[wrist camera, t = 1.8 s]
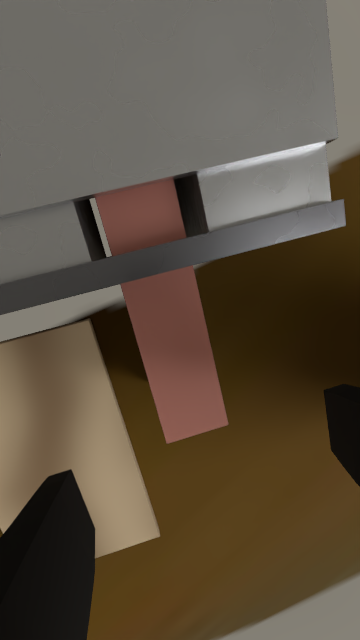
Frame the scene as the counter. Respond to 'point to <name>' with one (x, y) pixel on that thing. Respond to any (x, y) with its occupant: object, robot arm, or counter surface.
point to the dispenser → (158, 132)
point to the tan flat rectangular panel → (69, 433)
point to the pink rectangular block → (166, 313)
